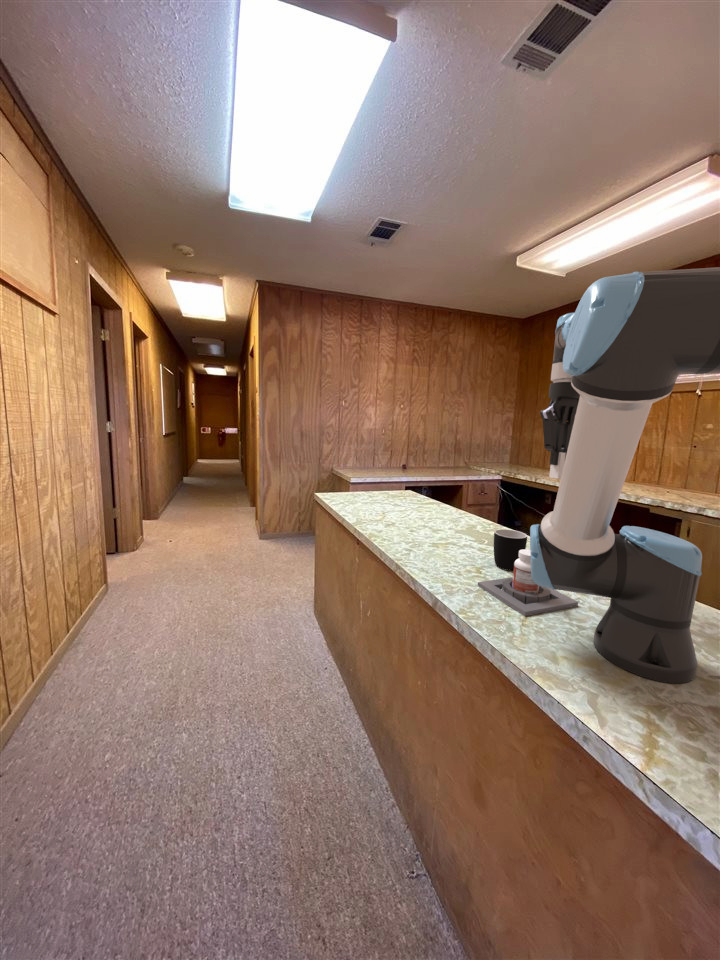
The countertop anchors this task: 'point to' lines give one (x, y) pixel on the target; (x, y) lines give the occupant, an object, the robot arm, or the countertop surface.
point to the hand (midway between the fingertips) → (555, 477)
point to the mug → (508, 547)
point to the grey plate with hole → (527, 597)
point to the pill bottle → (524, 574)
